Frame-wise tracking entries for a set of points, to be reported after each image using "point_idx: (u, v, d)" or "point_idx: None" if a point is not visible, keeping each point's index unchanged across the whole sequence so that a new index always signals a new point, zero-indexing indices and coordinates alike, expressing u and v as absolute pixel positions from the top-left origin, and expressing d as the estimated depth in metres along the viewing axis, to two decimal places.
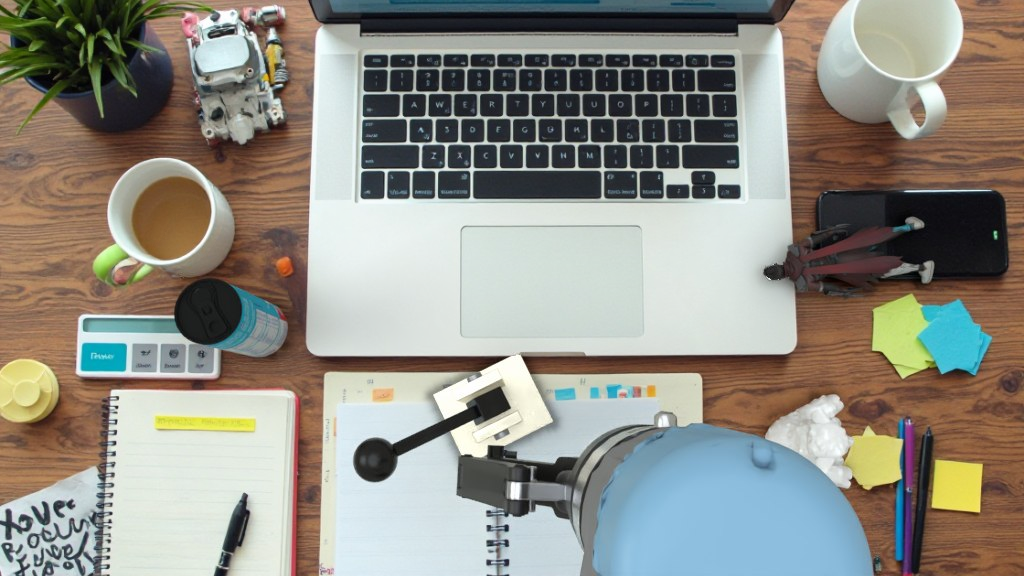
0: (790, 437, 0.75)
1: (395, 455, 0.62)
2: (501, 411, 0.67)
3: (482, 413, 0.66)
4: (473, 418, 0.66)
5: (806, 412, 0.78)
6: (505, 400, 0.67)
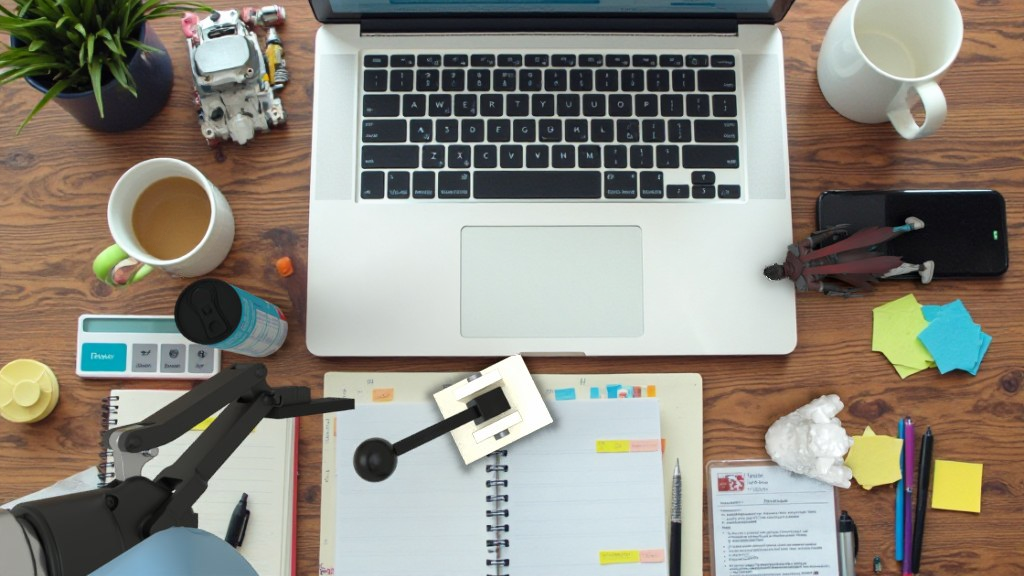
0: (790, 437, 0.75)
1: (395, 455, 0.62)
2: (501, 411, 0.67)
3: (482, 413, 0.66)
4: (473, 418, 0.66)
5: (806, 412, 0.78)
6: (505, 400, 0.67)
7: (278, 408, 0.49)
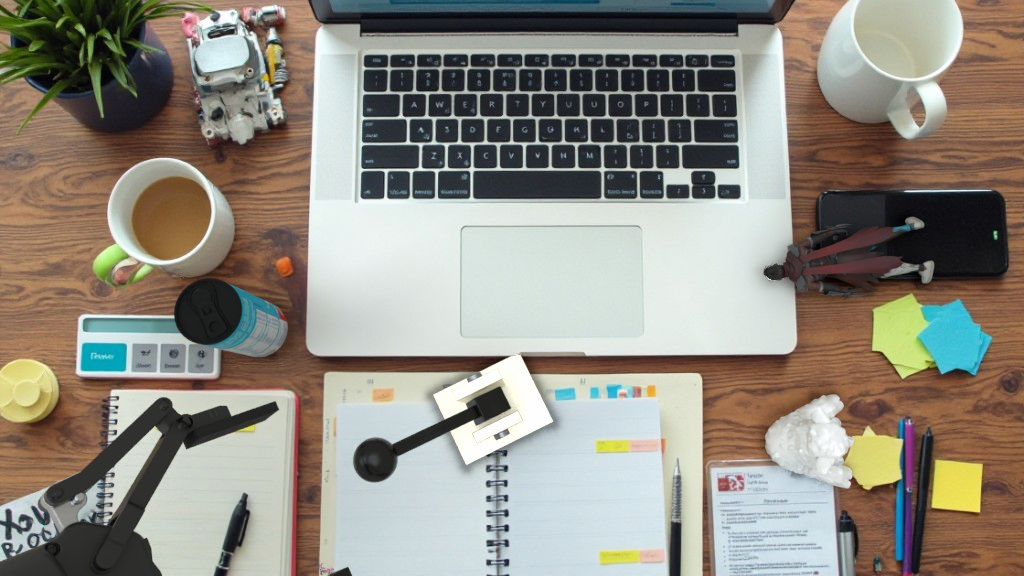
0: (790, 437, 0.75)
1: (395, 455, 0.62)
2: (501, 411, 0.67)
3: (482, 413, 0.66)
4: (473, 418, 0.66)
5: (806, 412, 0.78)
6: (505, 400, 0.67)
7: (195, 429, 0.54)
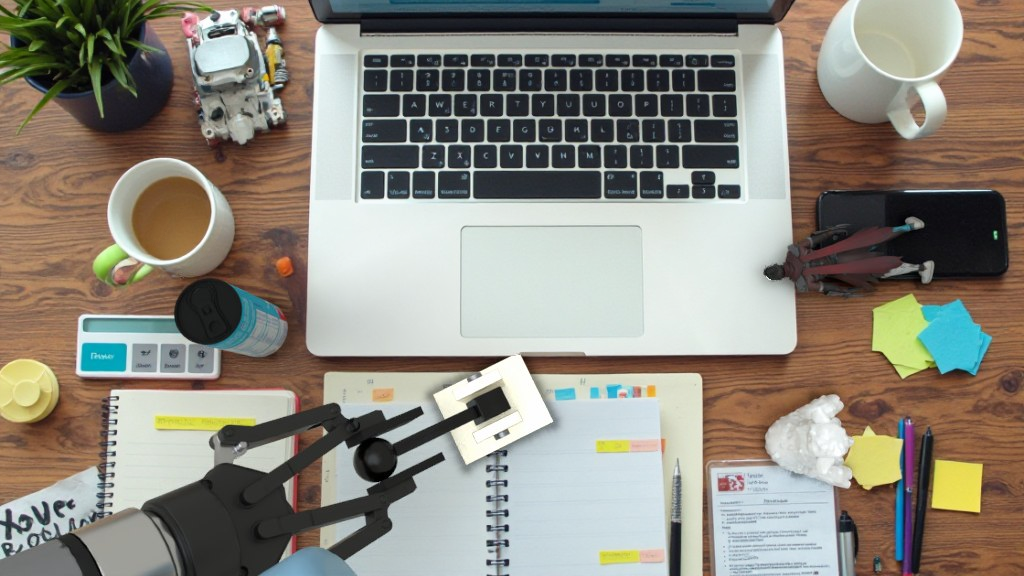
0: (790, 437, 0.75)
1: (395, 455, 0.62)
2: (501, 411, 0.67)
3: (482, 413, 0.66)
4: (473, 418, 0.66)
5: (806, 412, 0.78)
6: (505, 400, 0.67)
7: (360, 431, 0.61)
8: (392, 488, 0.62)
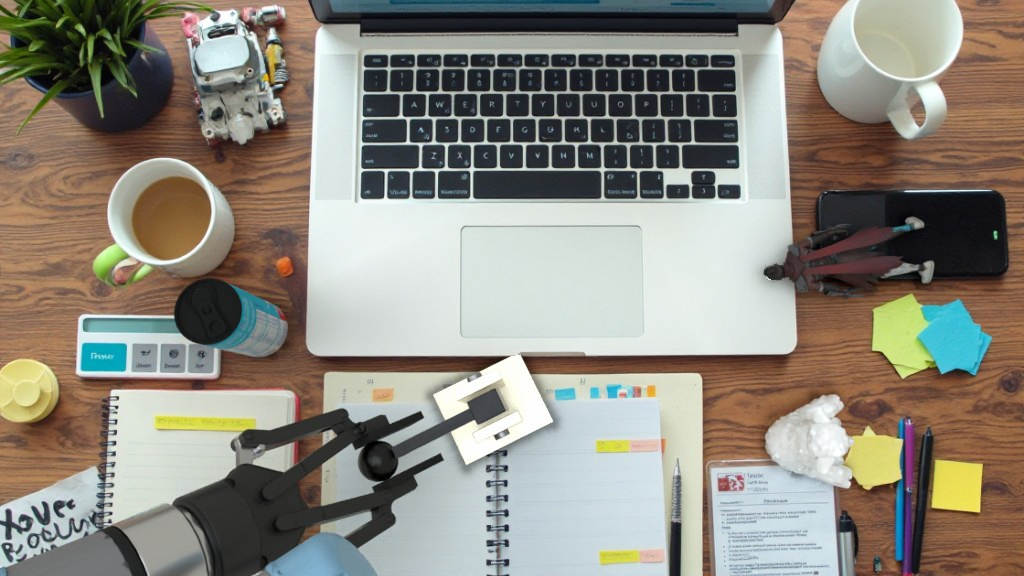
0: (790, 437, 0.75)
1: (389, 460, 0.67)
2: (495, 414, 0.66)
3: (474, 417, 0.67)
4: (469, 420, 0.67)
5: (806, 412, 0.78)
6: (499, 403, 0.66)
7: (366, 434, 0.67)
8: (395, 486, 0.68)
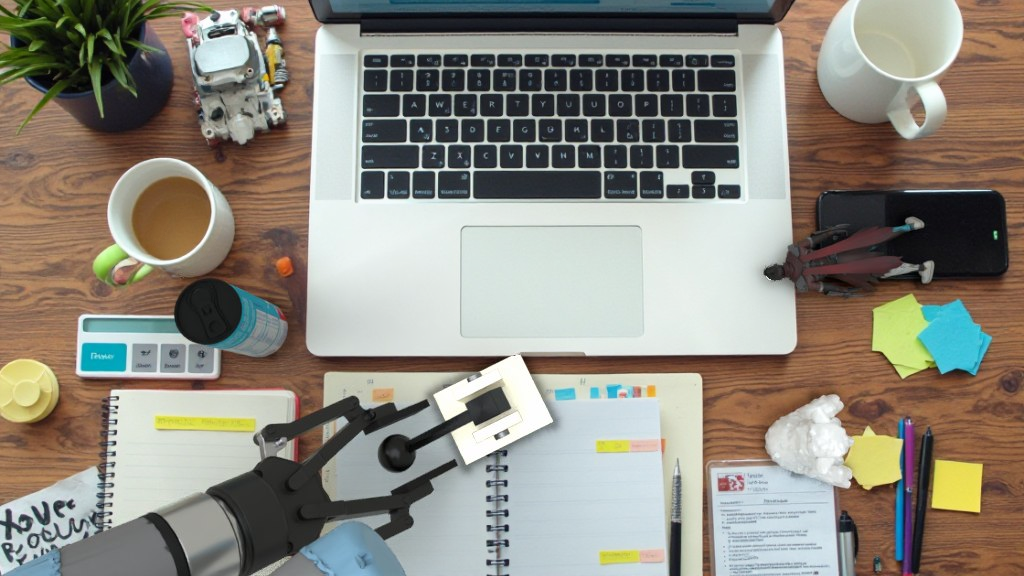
0: (790, 437, 0.75)
1: (402, 455, 0.71)
2: (490, 416, 0.66)
3: (472, 418, 0.67)
4: (470, 420, 0.68)
5: (806, 412, 0.78)
6: (494, 405, 0.66)
7: (376, 420, 0.72)
8: (413, 490, 0.72)
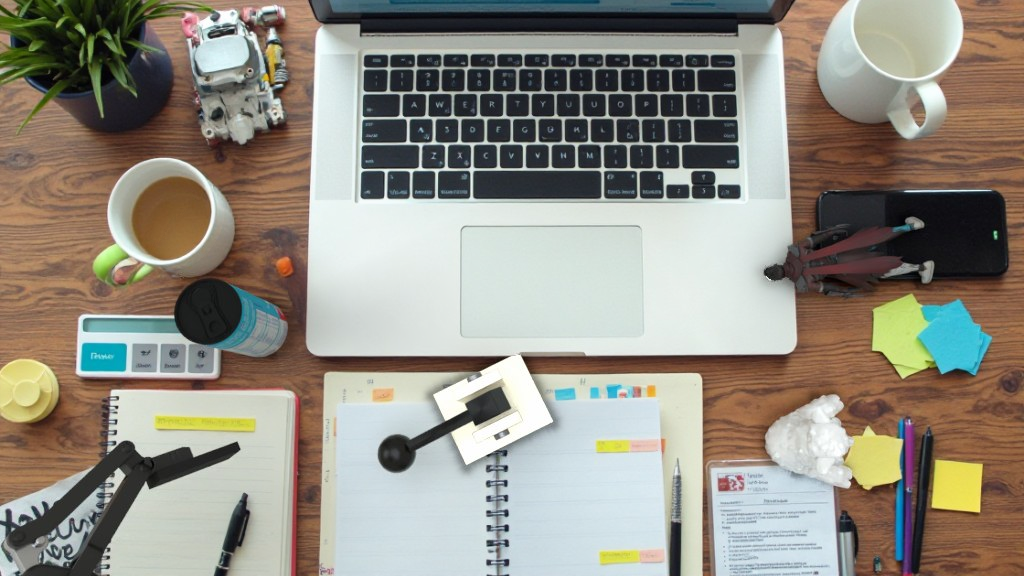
0: (790, 437, 0.75)
1: (402, 455, 0.71)
2: (490, 416, 0.66)
3: (472, 418, 0.67)
4: (470, 420, 0.68)
5: (806, 412, 0.78)
6: (494, 405, 0.66)
7: (157, 471, 0.57)
8: None
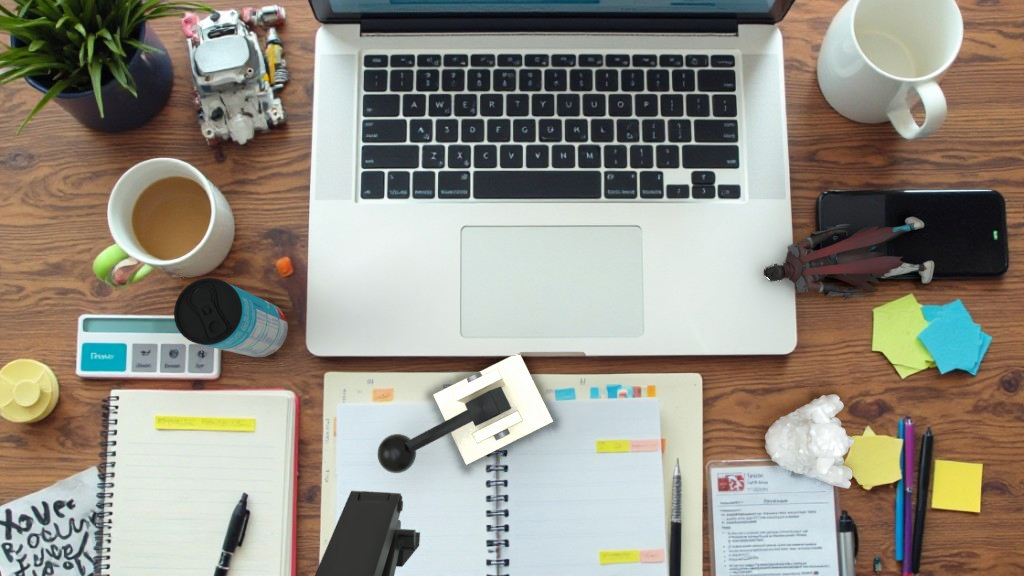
0: (790, 437, 0.75)
1: (402, 455, 0.71)
2: (490, 416, 0.66)
3: (472, 418, 0.67)
4: (470, 420, 0.68)
5: (806, 412, 0.78)
6: (494, 405, 0.66)
7: (402, 551, 0.39)
8: None
